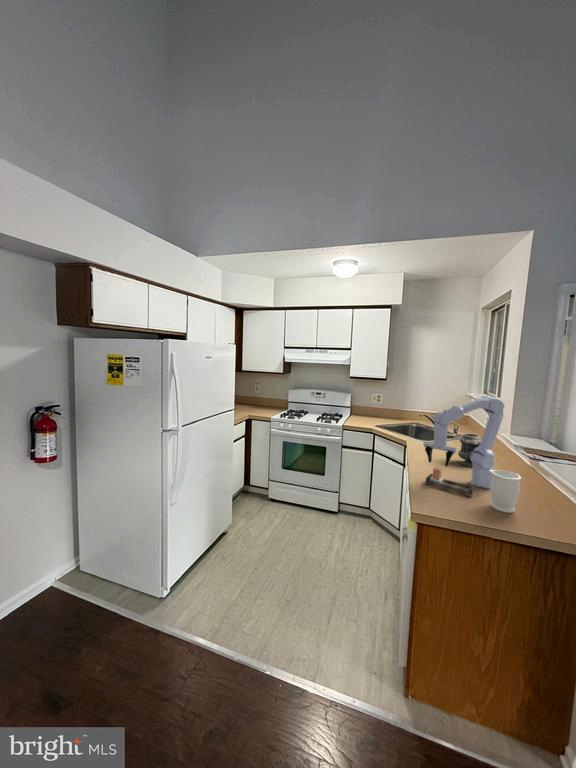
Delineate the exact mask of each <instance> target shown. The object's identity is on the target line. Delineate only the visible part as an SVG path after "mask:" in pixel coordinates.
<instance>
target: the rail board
mask: <svg viewBox="0 0 576 768" xmlns="http://www.w3.org/2000/svg"><path fill="white" fill-rule="evenodd" d="M432 476H433V473H430V474H429V475H427V477H425V483H424V485H425V486H426V485H427V487H430V486H431V488H433V487H434V488H435V489H437V490H441V491H445V492H448V493H452V494H455V495H459V496H463V497H466V498H469V499H472V497H473V496H474V495H475V493H476V486H475V485H473V484H472V485H470V484H464V483H462V482H461V483H460V482H456V481H453V480H449V479H445V478H444V481H443V482H442V483H438V482H435V481H431V480H430V478H431V477H432ZM434 488H433V489H434Z"/></svg>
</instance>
